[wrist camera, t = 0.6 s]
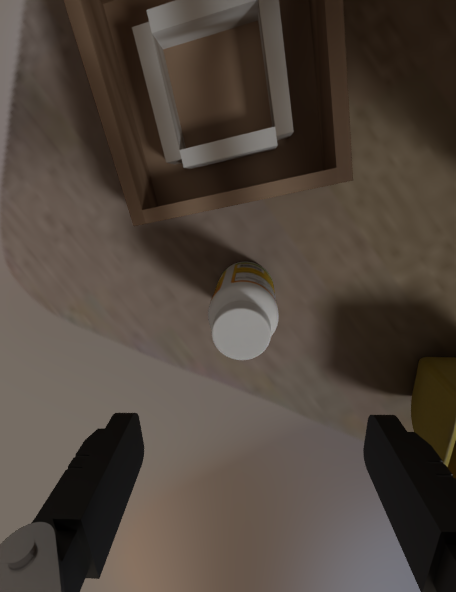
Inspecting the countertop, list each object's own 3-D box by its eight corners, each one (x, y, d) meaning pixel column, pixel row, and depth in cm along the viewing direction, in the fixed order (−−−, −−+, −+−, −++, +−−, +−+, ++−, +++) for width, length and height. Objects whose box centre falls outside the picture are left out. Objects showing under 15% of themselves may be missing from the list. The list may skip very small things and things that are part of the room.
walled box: (315, -79, 19) (334, -164, 14) (334, 180, 24) (353, 180, 20) (92, -1, 21) (47, -53, 17) (154, 218, 27) (133, 226, 22)
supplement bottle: (235, 321, 30) (226, 380, 21) (207, 276, 28) (185, 320, 19) (283, 297, 28) (295, 350, 19) (257, 250, 27) (257, 283, 18)
